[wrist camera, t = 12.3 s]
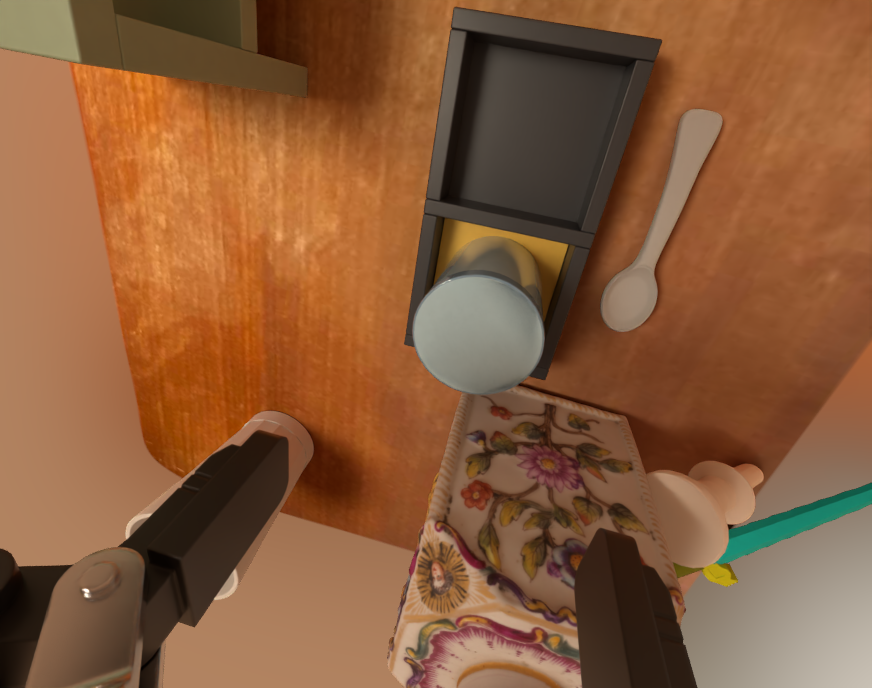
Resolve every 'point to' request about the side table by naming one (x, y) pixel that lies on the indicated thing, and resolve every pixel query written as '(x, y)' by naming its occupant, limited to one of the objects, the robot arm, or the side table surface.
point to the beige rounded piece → (703, 508)
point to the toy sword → (779, 531)
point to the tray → (529, 147)
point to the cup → (265, 421)
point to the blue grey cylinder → (483, 318)
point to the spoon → (660, 224)
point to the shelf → (152, 39)
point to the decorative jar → (519, 542)
